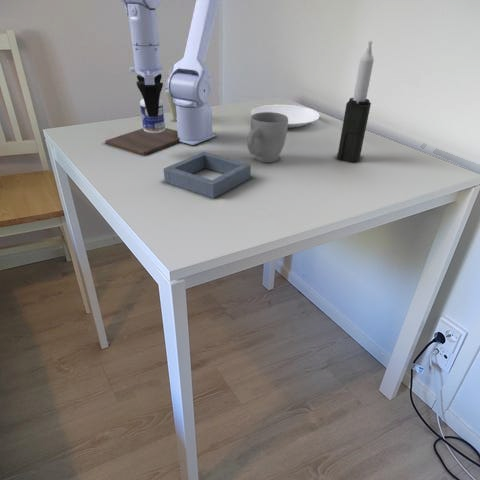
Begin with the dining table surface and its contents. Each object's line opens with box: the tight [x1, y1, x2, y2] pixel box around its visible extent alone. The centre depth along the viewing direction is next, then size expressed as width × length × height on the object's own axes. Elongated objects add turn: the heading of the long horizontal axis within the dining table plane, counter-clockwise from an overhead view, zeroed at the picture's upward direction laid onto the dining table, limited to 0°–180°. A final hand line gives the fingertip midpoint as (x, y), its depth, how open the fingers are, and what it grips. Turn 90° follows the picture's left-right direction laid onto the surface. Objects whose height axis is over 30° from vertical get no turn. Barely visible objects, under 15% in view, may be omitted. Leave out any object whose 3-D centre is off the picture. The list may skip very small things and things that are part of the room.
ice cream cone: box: [163, 63, 177, 122], centre depth 124 cm, size 5×5×15 cm
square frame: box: [163, 151, 252, 199], centre depth 94 cm, size 14×14×3 cm
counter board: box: [104, 127, 180, 156], centre depth 114 cm, size 18×14×1 cm
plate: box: [250, 103, 320, 129], centre depth 130 cm, size 21×21×2 cm
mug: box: [246, 112, 289, 163], centre depth 102 cm, size 12×9×10 cm
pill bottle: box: [139, 95, 166, 133], centre depth 99 cm, size 5×5×9 cm
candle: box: [336, 40, 375, 163], centre depth 99 cm, size 5×5×25 cm
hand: (152, 112), depth 99 cm, fingers closed on pill bottle, 5 cm apart
